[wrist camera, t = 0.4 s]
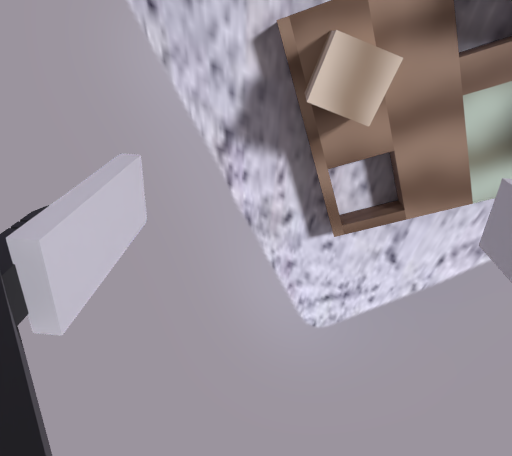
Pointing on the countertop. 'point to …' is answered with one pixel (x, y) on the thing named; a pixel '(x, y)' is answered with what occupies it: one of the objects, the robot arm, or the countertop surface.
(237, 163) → the countertop surface
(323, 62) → the beech block
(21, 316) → the robot arm
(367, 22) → the wooden flat square board
